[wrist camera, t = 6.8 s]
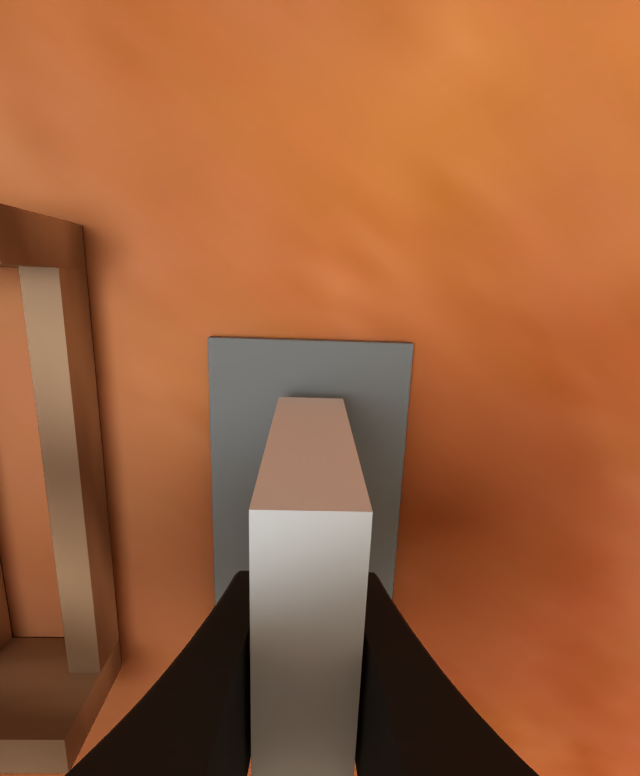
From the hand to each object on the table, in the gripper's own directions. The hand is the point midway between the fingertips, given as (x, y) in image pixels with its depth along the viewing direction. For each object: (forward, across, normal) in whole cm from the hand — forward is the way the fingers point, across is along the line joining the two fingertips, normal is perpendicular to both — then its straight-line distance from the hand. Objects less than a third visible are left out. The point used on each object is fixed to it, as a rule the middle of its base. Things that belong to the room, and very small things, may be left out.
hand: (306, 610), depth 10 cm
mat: (+5, 0, 0) cm, 5 cm away
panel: (+3, 0, 0) cm, 3 cm away
